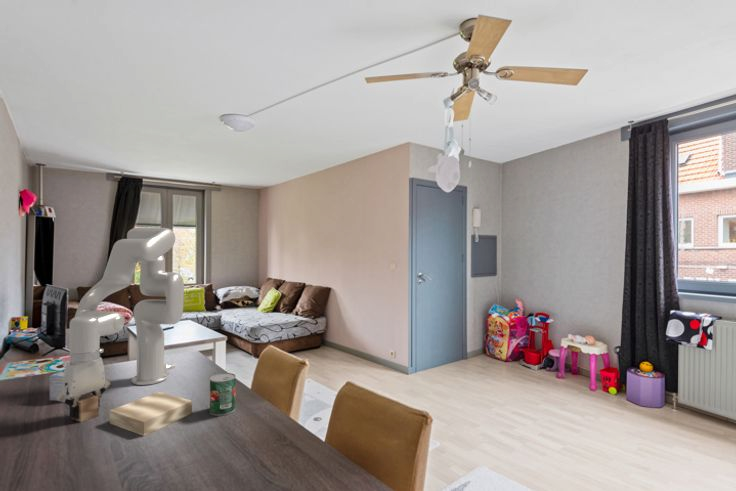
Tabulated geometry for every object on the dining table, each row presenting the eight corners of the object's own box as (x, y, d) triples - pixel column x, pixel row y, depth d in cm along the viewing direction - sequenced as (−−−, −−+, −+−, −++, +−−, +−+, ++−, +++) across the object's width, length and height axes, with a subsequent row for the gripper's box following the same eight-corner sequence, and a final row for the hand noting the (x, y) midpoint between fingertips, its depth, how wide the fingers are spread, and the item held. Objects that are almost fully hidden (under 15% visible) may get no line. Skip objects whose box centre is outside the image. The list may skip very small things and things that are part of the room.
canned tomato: (204, 412, 124) (204, 378, 124) (223, 403, 131) (223, 371, 131) (221, 418, 120) (221, 383, 120) (240, 408, 127) (240, 375, 127)
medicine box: (81, 396, 135) (81, 372, 135) (70, 402, 130) (70, 376, 130) (60, 395, 136) (60, 371, 135) (48, 400, 131) (48, 375, 131)
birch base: (158, 403, 130) (158, 391, 130) (192, 413, 123) (192, 400, 123) (109, 423, 115) (109, 410, 115) (144, 436, 109) (144, 422, 109)
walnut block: (89, 412, 123) (89, 393, 123) (98, 415, 121) (98, 396, 120) (71, 418, 118) (71, 399, 118) (80, 422, 116) (80, 402, 116)
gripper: (106, 347, 128) (106, 401, 129) (45, 362, 113) (46, 423, 113) (120, 350, 125) (120, 406, 125) (59, 366, 110) (60, 429, 110)
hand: (85, 413), depth 119 cm, fingers closed on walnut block, 4 cm apart
